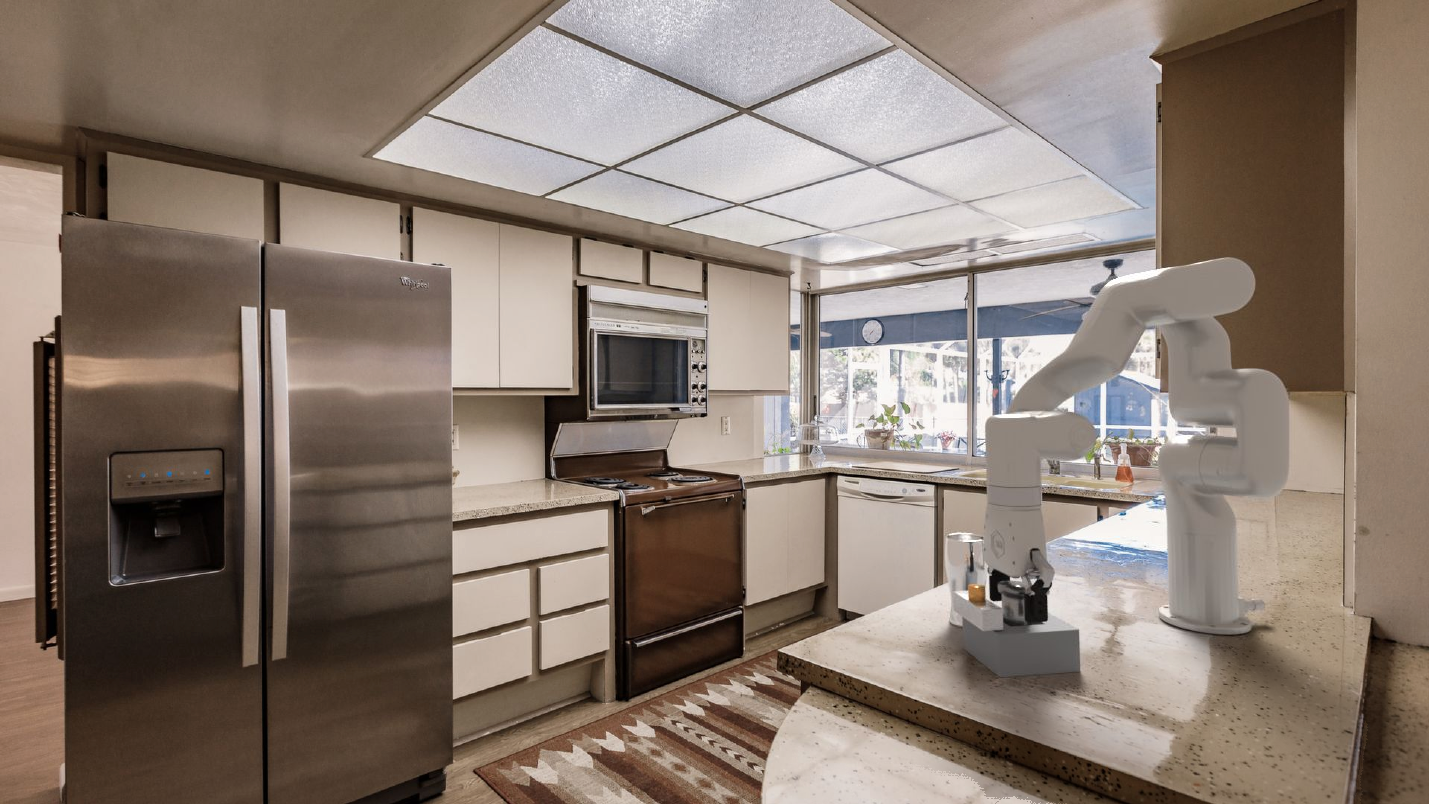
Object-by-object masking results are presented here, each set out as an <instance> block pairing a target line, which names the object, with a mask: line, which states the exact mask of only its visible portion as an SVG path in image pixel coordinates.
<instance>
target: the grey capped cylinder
mask: <svg viewBox="0 0 1429 804" xmlns="http://www.w3.org/2000/svg"><path fill="white" fill-rule="evenodd" d="M998 592H999V593H1001V594H1002V601H1001V607H1002V609H1003V622H1004V623H1005V624H1007V625H1009V626H1010V627H1012V626H1027V625H1032V623H1028V622H1026V621H1025V614H1024V594H1027V591H1026V589H1025V586H1024V584H1023V581H1022V580H1010V581H1001V582H999V583H998Z"/></svg>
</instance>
